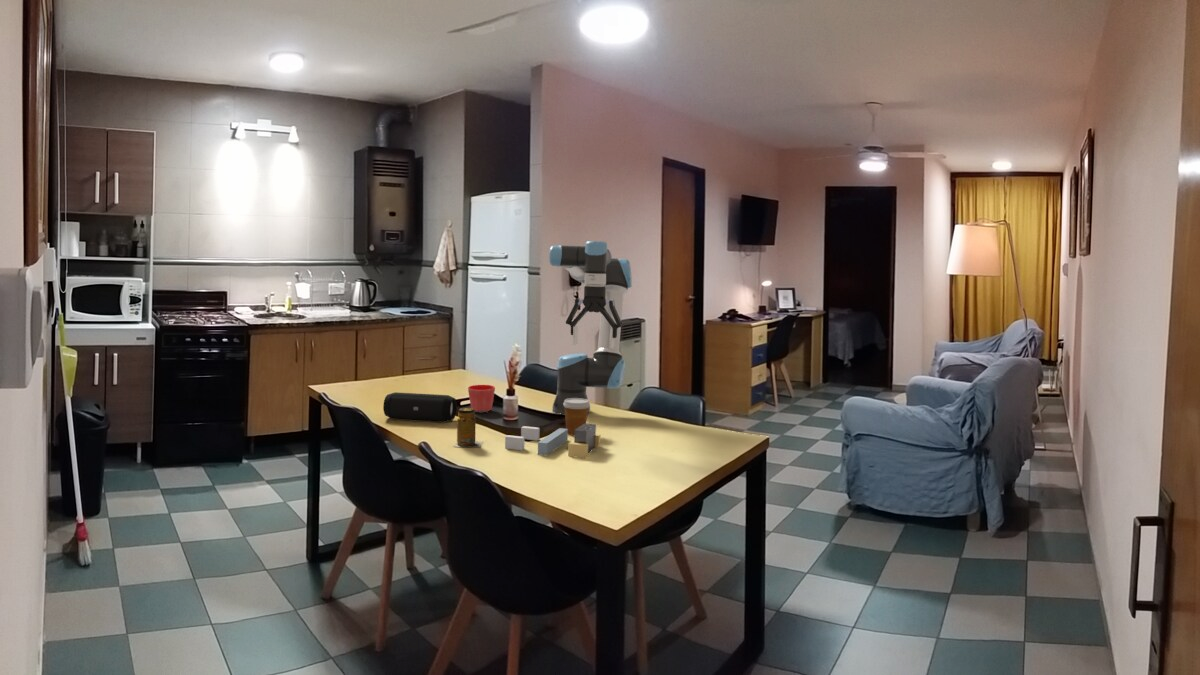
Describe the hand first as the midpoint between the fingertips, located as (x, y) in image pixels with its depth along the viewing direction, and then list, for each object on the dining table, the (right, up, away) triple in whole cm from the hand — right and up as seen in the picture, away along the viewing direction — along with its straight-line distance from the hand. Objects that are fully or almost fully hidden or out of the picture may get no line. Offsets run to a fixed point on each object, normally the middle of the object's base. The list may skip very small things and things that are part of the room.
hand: (593, 345), depth 265 cm
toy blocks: (-13, -34, -15) cm, 39 cm away
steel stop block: (-3, -34, -18) cm, 39 cm away
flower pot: (-45, -27, +34) cm, 62 cm away
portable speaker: (-65, -28, +17) cm, 73 cm away
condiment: (-41, -33, -15) cm, 55 cm away
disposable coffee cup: (-6, -32, +4) cm, 32 cm away
